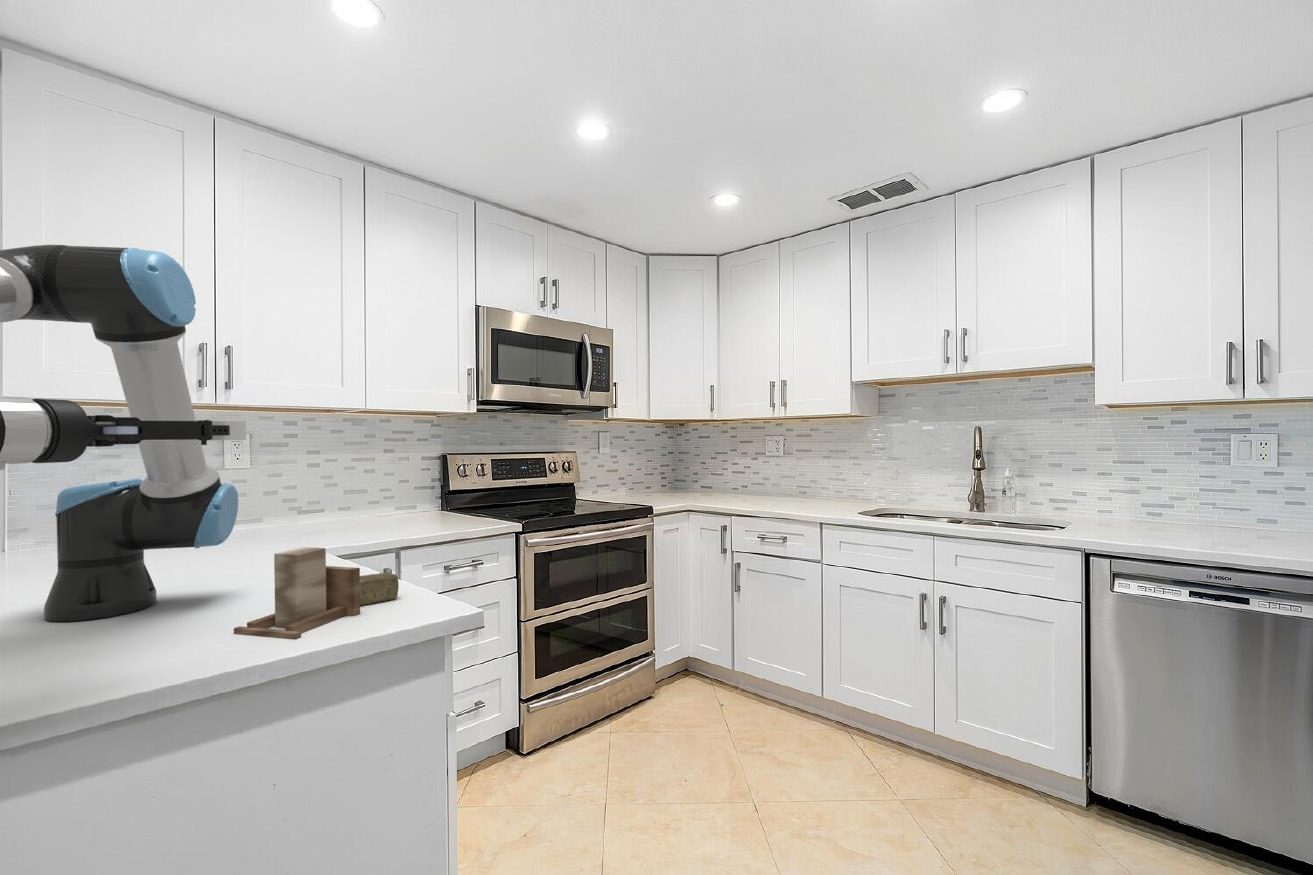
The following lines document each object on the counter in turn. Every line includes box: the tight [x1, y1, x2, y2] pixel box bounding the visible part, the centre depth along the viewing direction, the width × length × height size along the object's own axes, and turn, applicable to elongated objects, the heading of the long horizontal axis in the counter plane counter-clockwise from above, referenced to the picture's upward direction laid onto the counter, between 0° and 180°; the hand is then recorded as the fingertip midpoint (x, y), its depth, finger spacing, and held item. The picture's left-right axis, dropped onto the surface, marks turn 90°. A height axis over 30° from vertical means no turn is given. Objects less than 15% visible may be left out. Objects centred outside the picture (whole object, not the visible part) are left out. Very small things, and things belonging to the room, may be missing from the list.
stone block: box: [360, 572, 400, 607], centre depth 115 cm, size 6×12×5 cm, turn 133°
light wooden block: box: [273, 546, 327, 629], centre depth 103 cm, size 4×6×12 cm
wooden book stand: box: [233, 565, 361, 640], centre depth 103 cm, size 12×14×8 cm
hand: (207, 431), depth 91 cm, fingers open, 13 cm apart
